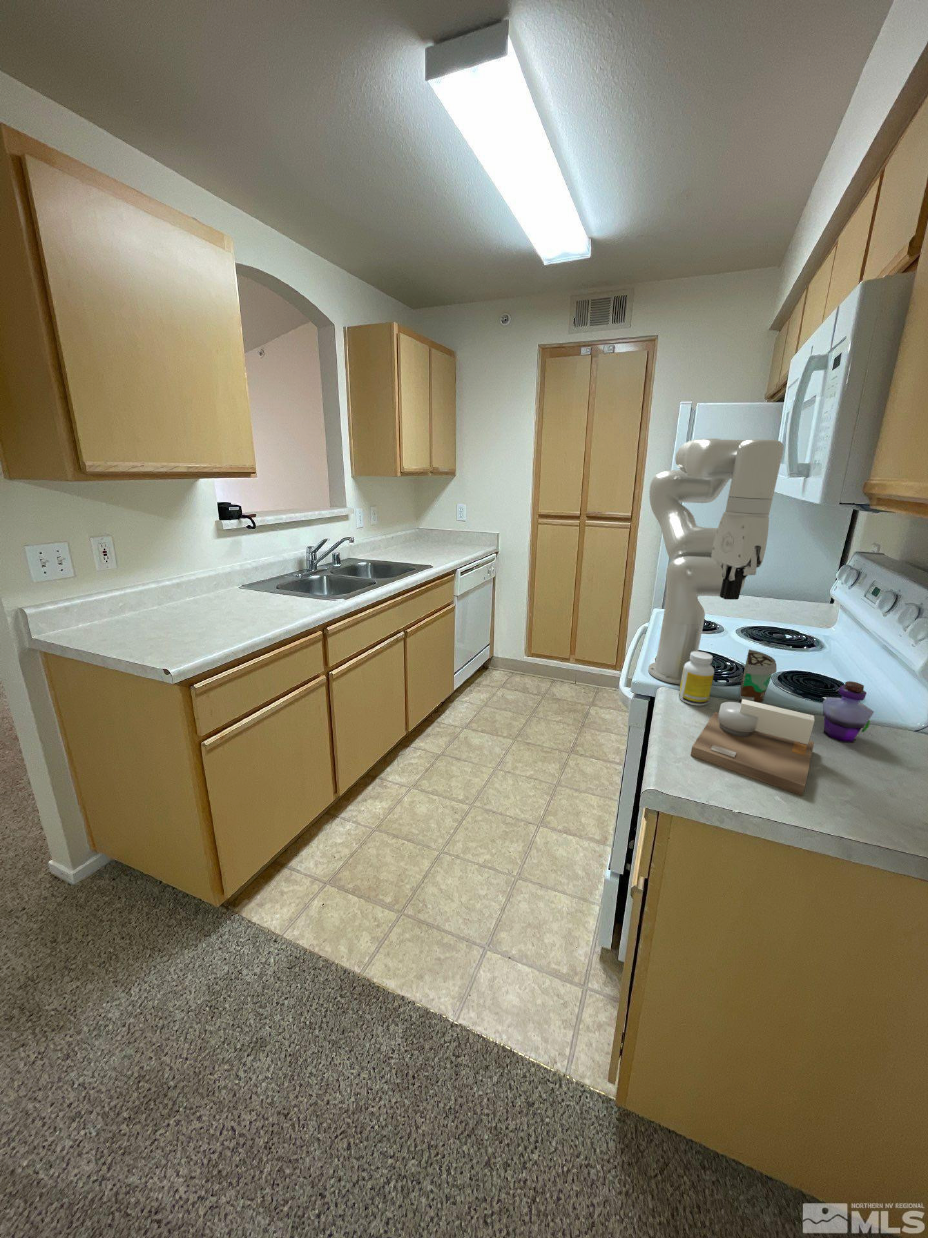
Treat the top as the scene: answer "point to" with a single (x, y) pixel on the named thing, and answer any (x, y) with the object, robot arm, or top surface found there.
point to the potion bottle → (846, 713)
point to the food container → (756, 676)
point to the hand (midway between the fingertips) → (728, 598)
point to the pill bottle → (697, 679)
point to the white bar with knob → (766, 720)
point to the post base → (755, 755)
